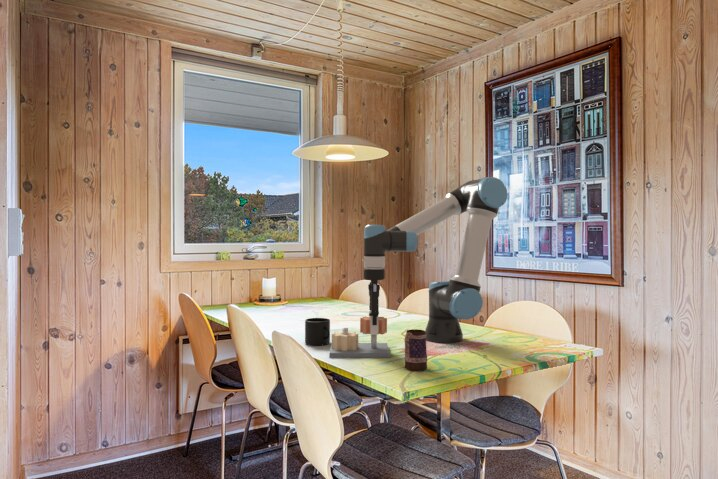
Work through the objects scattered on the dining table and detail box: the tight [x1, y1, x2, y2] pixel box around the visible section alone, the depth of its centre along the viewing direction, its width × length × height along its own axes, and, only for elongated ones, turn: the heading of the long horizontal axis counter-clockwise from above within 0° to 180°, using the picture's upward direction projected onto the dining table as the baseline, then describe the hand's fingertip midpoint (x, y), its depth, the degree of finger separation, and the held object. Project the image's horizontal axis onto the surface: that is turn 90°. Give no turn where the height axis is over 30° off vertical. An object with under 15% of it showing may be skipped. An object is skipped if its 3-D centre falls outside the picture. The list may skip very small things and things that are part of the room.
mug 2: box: [404, 328, 428, 372], centre depth 154 cm, size 10×7×12 cm
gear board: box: [328, 327, 391, 358], centre depth 177 cm, size 21×16×8 cm
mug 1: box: [304, 317, 331, 347], centre depth 191 cm, size 9×12×9 cm
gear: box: [359, 316, 388, 335], centre depth 177 cm, size 9×9×5 cm
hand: (373, 331), depth 177 cm, fingers closed on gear, 9 cm apart
